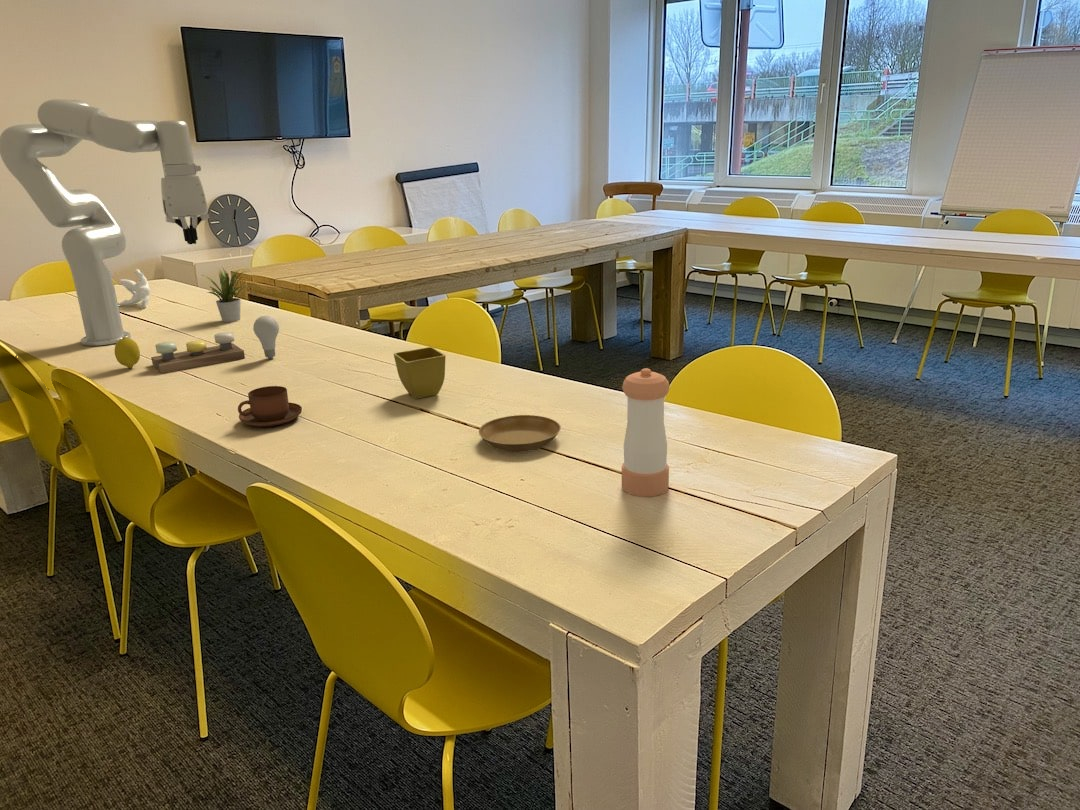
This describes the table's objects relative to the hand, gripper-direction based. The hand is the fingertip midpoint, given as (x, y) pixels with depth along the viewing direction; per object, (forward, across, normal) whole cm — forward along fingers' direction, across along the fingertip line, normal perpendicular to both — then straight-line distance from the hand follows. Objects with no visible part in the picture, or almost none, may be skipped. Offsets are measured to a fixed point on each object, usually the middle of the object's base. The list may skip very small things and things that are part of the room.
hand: (191, 243), depth 217 cm
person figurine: (+28, +4, -72) cm, 78 cm away
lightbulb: (+27, -8, +28) cm, 40 cm away
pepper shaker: (+27, -29, +145) cm, 150 cm away
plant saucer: (+28, -25, +116) cm, 122 cm away
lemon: (+27, +22, +12) cm, 37 cm away
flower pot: (+27, -24, +80) cm, 88 cm away
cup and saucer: (+28, +7, +75) cm, 80 cm away
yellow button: (+27, +7, +18) cm, 33 cm away
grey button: (+26, 0, +18) cm, 31 cm away
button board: (+27, +7, +18) cm, 33 cm away
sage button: (+26, +14, +18) cm, 34 cm away
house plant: (+27, -14, -24) cm, 39 cm away
